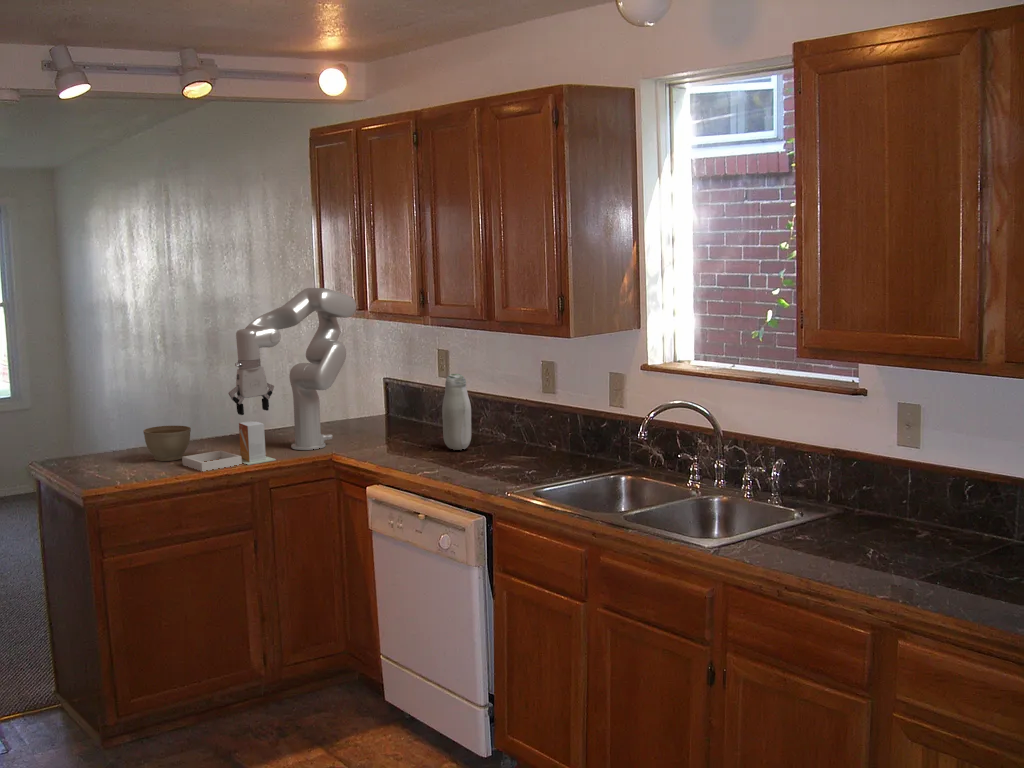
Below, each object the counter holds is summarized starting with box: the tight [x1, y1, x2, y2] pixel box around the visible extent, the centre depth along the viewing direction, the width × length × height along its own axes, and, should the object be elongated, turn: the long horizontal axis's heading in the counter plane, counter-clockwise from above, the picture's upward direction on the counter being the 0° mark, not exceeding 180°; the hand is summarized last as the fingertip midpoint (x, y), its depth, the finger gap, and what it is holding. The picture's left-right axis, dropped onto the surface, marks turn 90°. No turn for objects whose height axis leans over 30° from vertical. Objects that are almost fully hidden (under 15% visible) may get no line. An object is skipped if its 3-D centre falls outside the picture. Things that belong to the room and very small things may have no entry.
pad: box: [242, 456, 277, 466], centre depth 381 cm, size 11×11×1 cm
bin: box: [181, 450, 243, 472], centre depth 374 cm, size 15×15×3 cm
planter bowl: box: [143, 425, 192, 462], centre depth 385 cm, size 16×16×11 cm
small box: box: [238, 420, 267, 462], centre depth 380 cm, size 8×6×13 cm
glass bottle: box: [441, 373, 472, 451], centre depth 391 cm, size 10×10×28 cm
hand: (253, 412), depth 379 cm, fingers open, 9 cm apart
